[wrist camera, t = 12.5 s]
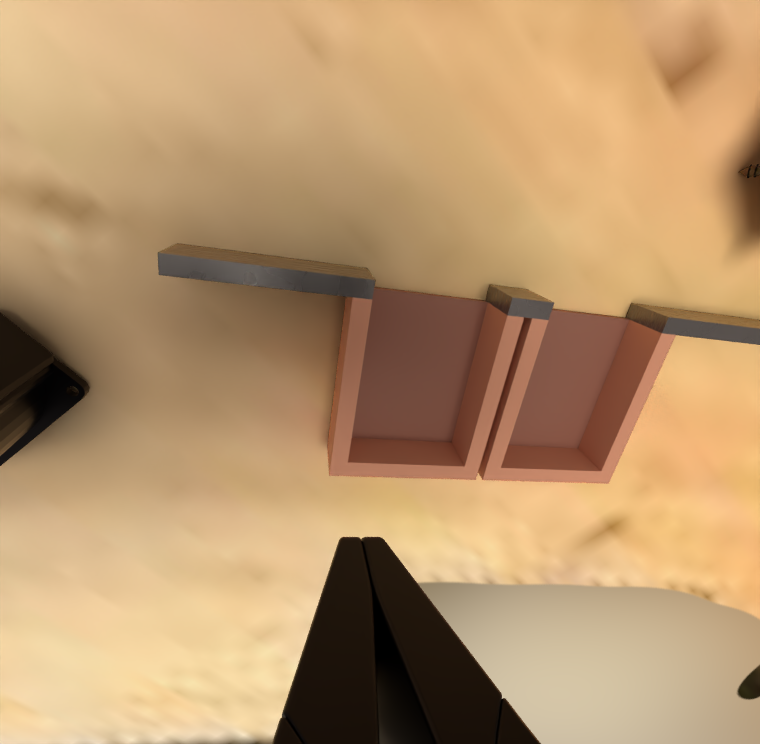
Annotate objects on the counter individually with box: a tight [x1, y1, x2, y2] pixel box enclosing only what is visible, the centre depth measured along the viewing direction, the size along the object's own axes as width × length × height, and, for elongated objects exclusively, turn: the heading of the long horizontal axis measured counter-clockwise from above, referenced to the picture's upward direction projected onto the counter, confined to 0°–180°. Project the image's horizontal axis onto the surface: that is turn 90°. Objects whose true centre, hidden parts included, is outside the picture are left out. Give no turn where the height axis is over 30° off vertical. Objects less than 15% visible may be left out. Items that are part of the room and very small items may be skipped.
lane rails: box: [158, 243, 760, 345], centre depth 17 cm, size 38×17×2 cm, turn 81°
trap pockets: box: [327, 287, 676, 484], centre depth 21 cm, size 16×9×2 cm, turn 81°
